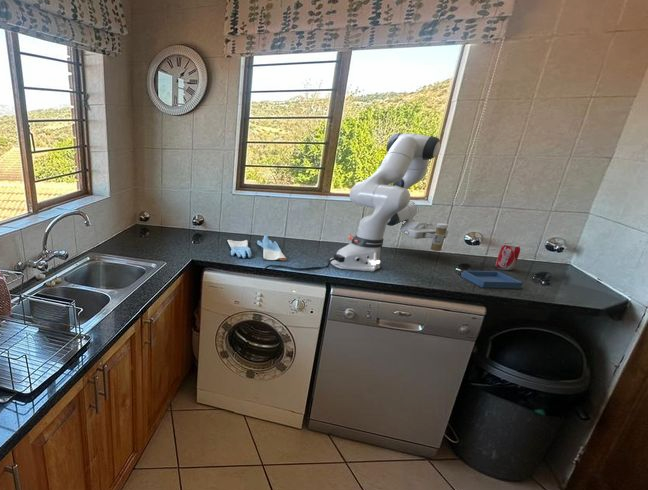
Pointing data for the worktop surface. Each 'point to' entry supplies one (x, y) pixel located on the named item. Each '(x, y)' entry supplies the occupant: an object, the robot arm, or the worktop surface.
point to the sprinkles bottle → (439, 236)
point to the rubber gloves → (269, 248)
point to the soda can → (508, 256)
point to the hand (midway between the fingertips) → (440, 236)
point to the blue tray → (491, 279)
